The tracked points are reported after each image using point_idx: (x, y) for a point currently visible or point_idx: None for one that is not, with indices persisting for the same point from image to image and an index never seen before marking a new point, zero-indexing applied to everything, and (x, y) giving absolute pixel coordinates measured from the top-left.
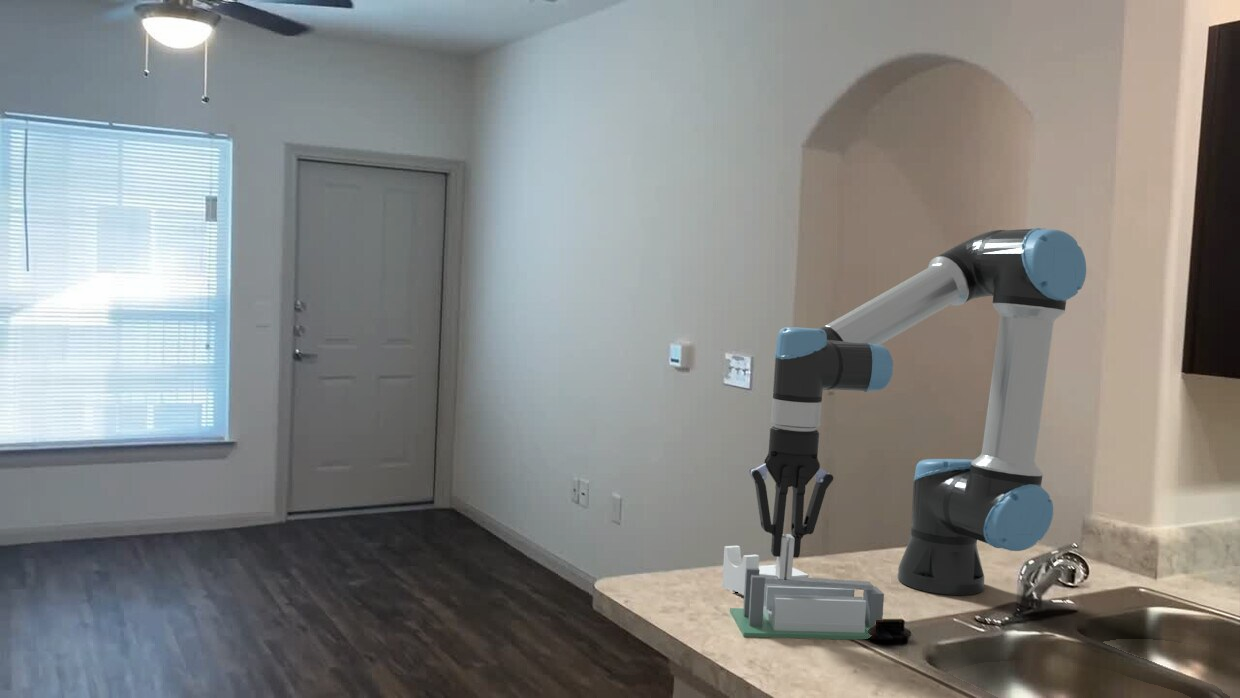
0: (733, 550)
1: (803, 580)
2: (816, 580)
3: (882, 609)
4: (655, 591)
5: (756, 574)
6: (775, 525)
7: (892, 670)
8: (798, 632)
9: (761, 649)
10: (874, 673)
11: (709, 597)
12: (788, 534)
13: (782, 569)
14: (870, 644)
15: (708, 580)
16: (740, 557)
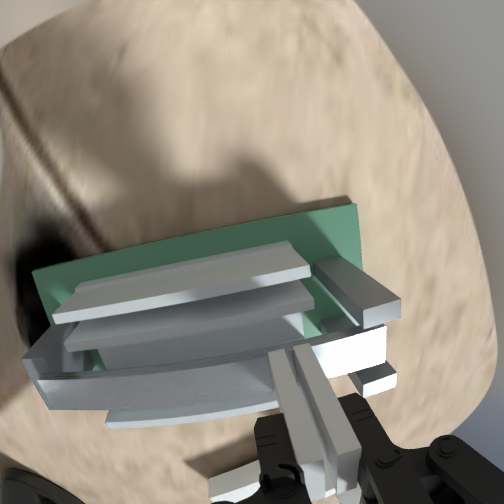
0: (356, 502)
1: (225, 369)
2: (183, 384)
3: (38, 340)
4: (447, 393)
5: (369, 364)
6: (416, 481)
7: (51, 85)
8: (229, 239)
9: (318, 127)
10: (87, 54)
11: (380, 407)
12: (315, 497)
13: (309, 363)
14: (72, 231)
15: None
16: (339, 497)
